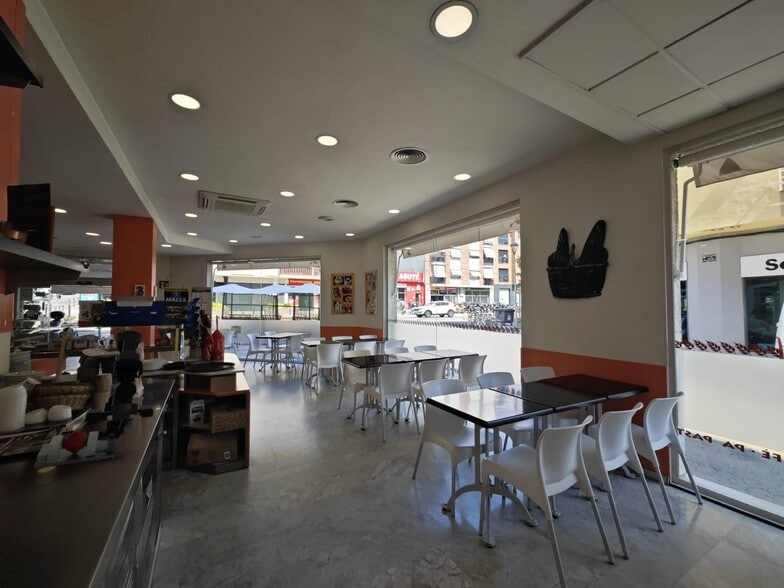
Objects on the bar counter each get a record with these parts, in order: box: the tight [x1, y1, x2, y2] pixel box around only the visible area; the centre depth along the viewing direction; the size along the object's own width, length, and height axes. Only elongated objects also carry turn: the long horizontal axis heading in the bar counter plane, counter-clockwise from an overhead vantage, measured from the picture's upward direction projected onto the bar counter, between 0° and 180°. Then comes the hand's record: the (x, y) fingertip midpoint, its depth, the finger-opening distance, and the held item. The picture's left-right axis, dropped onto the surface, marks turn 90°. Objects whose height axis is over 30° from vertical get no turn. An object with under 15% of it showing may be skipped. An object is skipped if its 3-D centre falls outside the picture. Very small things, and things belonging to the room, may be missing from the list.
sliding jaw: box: [85, 430, 116, 456], centre depth 119 cm, size 9×7×5 cm
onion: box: [63, 427, 89, 453], centre depth 115 cm, size 6×6×8 cm
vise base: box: [33, 434, 116, 469], centre depth 116 cm, size 12×19×6 cm, turn 128°
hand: (117, 438), depth 122 cm, fingers closed
